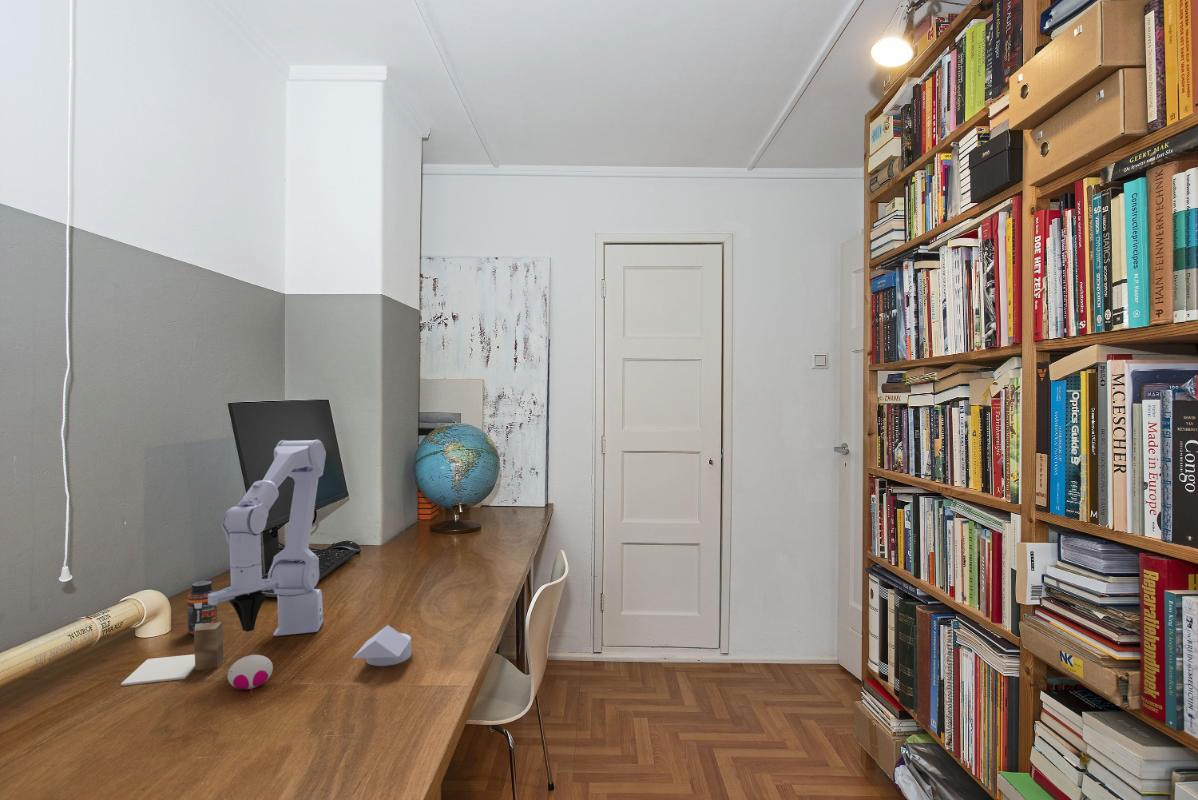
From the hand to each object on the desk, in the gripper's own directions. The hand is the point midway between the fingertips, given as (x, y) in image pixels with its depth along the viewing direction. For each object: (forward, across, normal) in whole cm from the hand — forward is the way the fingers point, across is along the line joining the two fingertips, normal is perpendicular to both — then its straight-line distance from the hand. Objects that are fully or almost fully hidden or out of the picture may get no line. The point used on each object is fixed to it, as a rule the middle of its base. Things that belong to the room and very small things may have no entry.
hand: (248, 629), depth 139 cm
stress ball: (+7, +6, +13) cm, 16 cm away
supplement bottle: (+7, -3, -27) cm, 28 cm away
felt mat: (+6, +12, -10) cm, 17 cm away
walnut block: (+6, +6, -5) cm, 10 cm away
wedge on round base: (+7, -15, +24) cm, 30 cm away
